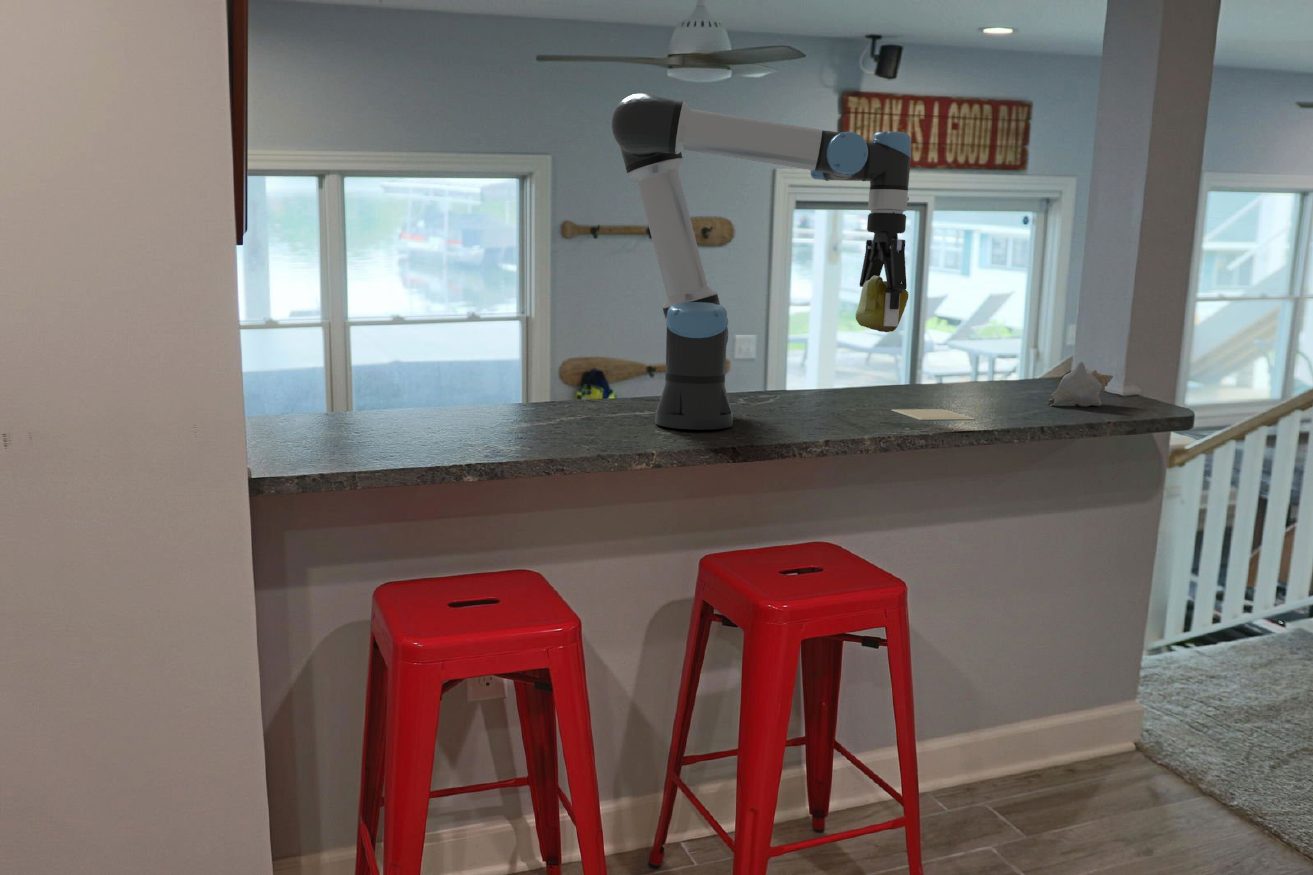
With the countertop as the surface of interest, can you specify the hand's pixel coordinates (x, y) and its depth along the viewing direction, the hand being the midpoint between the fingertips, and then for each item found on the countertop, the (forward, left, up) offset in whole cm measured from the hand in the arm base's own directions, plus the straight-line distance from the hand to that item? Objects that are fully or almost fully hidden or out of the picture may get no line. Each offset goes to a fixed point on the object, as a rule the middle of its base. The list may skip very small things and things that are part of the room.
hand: (879, 324), depth 223 cm
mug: (-3, -1, -1) cm, 3 cm away
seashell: (+48, +9, -21) cm, 53 cm away
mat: (+13, 0, -19) cm, 23 cm away
